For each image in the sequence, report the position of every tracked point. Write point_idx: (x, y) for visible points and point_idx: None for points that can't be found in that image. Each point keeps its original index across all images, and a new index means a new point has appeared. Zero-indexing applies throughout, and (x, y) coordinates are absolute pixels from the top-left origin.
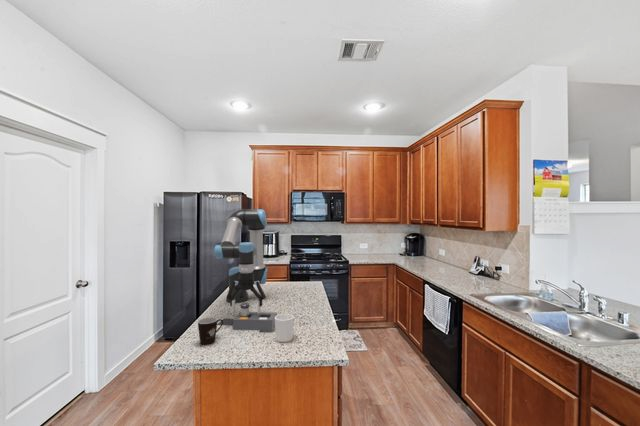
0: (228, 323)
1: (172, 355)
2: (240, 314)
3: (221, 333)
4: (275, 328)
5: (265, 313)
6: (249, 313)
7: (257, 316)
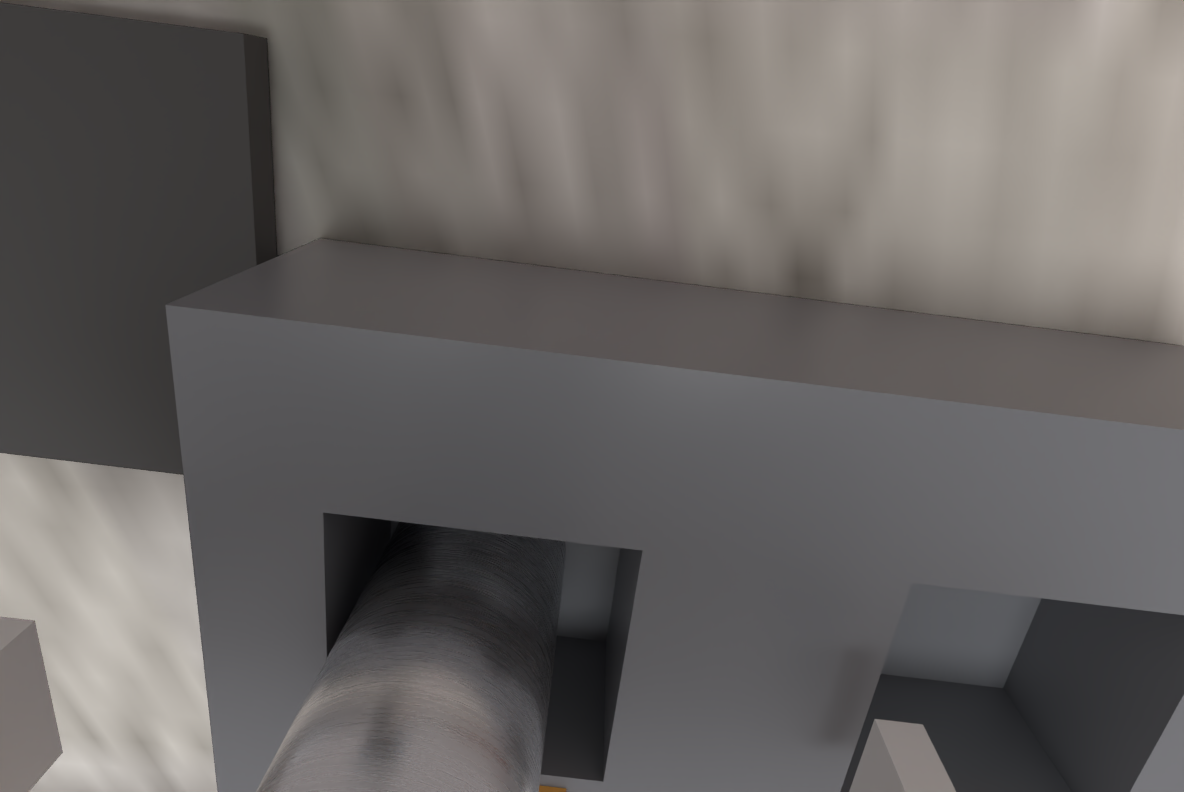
0: (71, 364)
1: None
2: (260, 536)
3: (167, 693)
4: None
5: (1052, 519)
6: (521, 472)
7: (798, 727)
